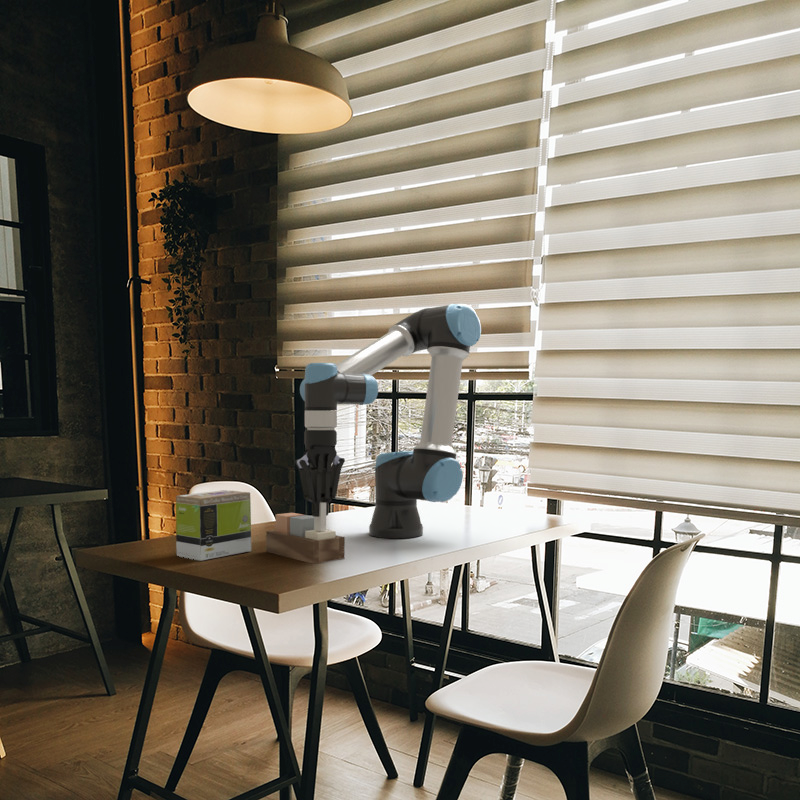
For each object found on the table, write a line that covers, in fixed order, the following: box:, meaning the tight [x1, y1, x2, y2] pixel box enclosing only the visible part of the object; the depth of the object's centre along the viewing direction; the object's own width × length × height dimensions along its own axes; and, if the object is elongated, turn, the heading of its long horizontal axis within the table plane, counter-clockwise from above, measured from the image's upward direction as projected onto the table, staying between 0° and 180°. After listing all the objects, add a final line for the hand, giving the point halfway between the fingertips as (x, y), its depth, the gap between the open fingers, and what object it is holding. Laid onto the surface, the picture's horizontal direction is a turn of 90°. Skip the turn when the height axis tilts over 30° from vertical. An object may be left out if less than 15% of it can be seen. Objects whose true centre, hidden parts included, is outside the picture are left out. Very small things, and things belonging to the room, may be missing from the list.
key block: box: [265, 529, 346, 565], centre depth 173 cm, size 9×19×5 cm, turn 42°
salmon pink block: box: [274, 512, 305, 534], centre depth 178 cm, size 5×5×6 cm
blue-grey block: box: [290, 514, 314, 537], centre depth 173 cm, size 5×5×6 cm
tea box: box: [175, 489, 252, 562], centre depth 174 cm, size 15×10×15 cm, turn 141°
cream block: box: [305, 529, 336, 540], centre depth 169 cm, size 5×5×6 cm
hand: (320, 530), depth 169 cm, fingers closed
